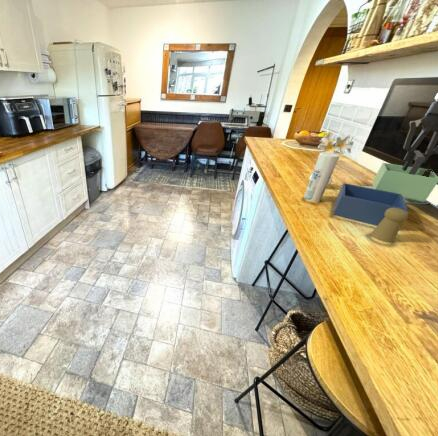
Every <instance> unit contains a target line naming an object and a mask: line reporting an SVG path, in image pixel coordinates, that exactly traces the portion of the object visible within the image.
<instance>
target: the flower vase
mask: <svg viewBox="0 0 438 436" xmlns="http://www.w3.org/2000/svg"><path fill="white" fill-rule="evenodd" d="M335 136H336V135H335V133H334V132H332V133H331V132H330V131H329V132H328V133H326V135H325V136H324V137H322V138H321V139H320V140H318V142H319V144H318V145H317V149H320V150H323V151H322V152H330V153H335V154H337V152H338V151H339V153H340V154H341V155H345V152H346V151H347V153H348V154H351V153H352V148H353V145H354V144H355V143H354V141H353V139H354V136H351V134H346V135H344V132H343V131H339V136H337V137H335ZM345 149H346V150H345ZM311 176H312V174H311V175H310V176H309V178H308V180H309V181H310V179H311ZM332 183H333V177H332V176H331V177H330V180H329V182H328V184H327V187H328V186H329V185H331V184H332Z"/></svg>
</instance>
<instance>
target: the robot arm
mask: <svg viewBox="0 0 438 436" xmlns="http://www.w3.org/2000/svg"><path fill="white" fill-rule="evenodd" d="M433 100H435V101H433V102H431V104H430V106H429V107H428V109H427V111H426V113H425V114H424V115H423V116H422V117H421V118H420V119H417V120H411V121H409V130H408V132H407V135H406V137H405V141H404V144H403V146H402V148H403V150H404V151H406V154H405V156H404V158H403V161H404V162H405V163H404V165H402V166H403V168H402V169H403V170H404V171H406V170H407V168H408V166H409V164H410V163H411V161H412V159H413V157H414V156H415V154H416V153H415V152H414V151H415V150H417V148H418V147H419V146H420V144H421V143H422V141H423V140H424V139H425V137H426V136H427V135H428V134H429V133H430V132H433V134H432V137H431V139H430V141H429V143H428V146H427V148H426V150H425V152H421V153H422V154H423V155H424V156H425V157H426V159H425V160H424V162H422V164H426V163H427V162H428V160H429V158H430V157H431V156H432V155H438V145H437V143H438V92H437V93H436V94H435V97H434V99H433ZM420 124H421V126H422V129H421V131H420V132H419V134H418V136H417V137H416V139H415V140H414V141H413V138H414V135H415V132H416V129H417V127H419V126H420ZM412 141H413V143H412ZM411 143H412V144H411ZM412 162H413V161H412ZM411 164H412V163H411Z"/></svg>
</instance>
